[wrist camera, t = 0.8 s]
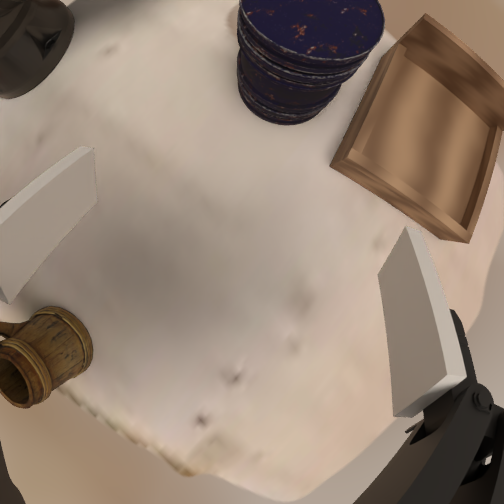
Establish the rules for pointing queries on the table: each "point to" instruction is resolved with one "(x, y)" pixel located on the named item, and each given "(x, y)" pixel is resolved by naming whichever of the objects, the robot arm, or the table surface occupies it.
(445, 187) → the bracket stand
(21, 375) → the wooden mug
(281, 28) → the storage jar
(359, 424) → the table surface
